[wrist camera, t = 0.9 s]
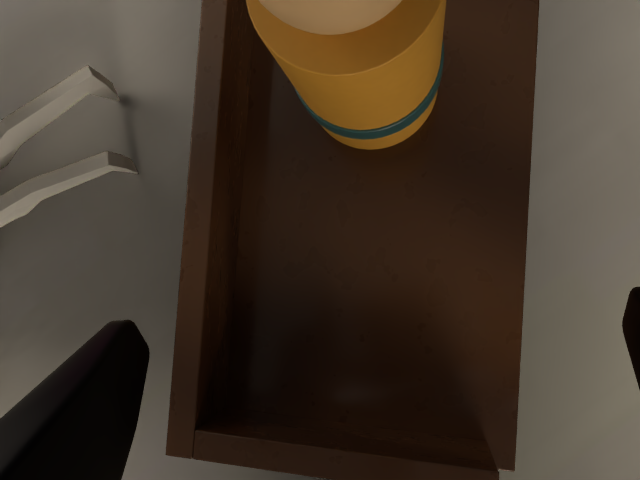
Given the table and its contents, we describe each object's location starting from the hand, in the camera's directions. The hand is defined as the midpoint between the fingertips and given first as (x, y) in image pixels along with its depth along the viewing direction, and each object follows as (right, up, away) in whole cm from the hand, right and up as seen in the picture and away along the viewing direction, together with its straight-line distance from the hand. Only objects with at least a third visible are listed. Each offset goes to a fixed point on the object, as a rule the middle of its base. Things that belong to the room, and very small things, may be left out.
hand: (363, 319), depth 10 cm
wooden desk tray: (+2, +4, +13) cm, 14 cm away
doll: (+1, +7, +11) cm, 13 cm away
